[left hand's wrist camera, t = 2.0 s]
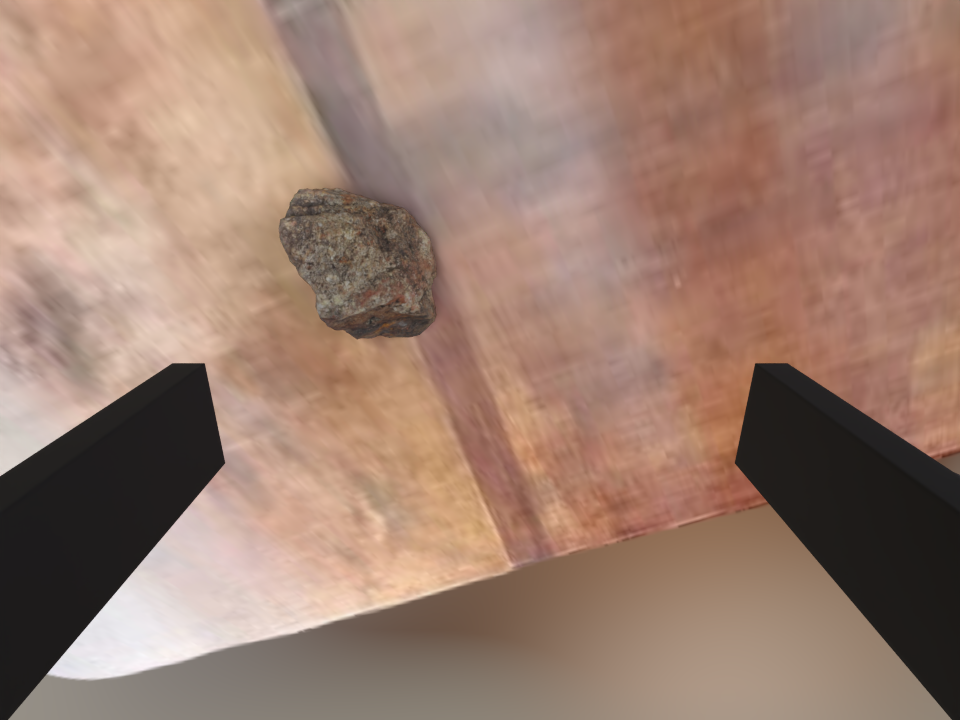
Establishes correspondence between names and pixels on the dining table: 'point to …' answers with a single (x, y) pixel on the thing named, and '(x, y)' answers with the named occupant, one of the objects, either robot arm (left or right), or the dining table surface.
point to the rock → (361, 262)
